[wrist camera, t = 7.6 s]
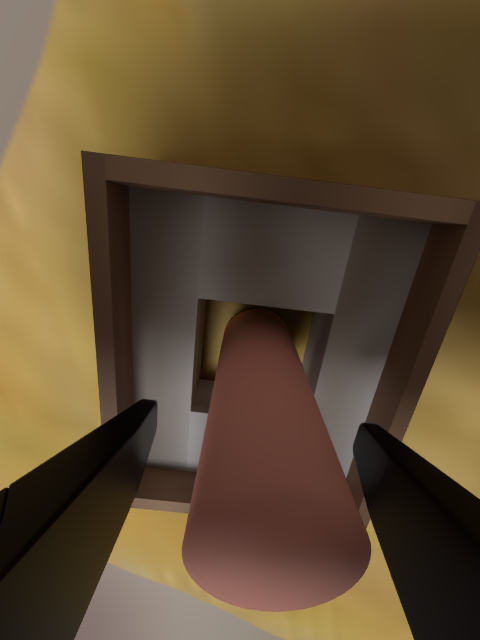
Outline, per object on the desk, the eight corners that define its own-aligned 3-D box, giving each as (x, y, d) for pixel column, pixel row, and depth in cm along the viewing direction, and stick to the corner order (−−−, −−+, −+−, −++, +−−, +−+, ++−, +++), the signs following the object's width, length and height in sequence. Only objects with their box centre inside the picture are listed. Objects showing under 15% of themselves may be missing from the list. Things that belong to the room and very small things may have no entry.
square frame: (412, 209, 11) (499, 203, 7) (336, 455, 15) (364, 531, 12) (138, 175, 11) (80, 150, 7) (141, 434, 15) (107, 505, 11)
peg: (283, 372, 14) (344, 618, 5) (220, 365, 14) (178, 603, 5) (295, 312, 13) (396, 501, 4) (226, 304, 13) (186, 480, 4)
